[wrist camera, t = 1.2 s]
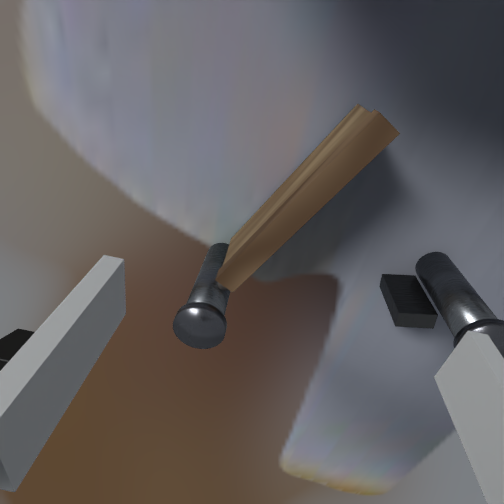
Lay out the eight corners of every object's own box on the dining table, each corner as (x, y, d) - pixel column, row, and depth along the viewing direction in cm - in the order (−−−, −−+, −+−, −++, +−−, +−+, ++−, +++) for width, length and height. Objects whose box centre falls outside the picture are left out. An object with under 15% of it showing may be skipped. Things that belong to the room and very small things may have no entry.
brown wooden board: (225, 242, 34) (211, 284, 28) (358, 99, 26) (380, 112, 20) (239, 252, 34) (228, 296, 28) (374, 115, 27) (399, 133, 21)
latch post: (388, 246, 33) (428, 322, 23) (460, 249, 32) (530, 328, 23) (379, 286, 35) (412, 369, 26) (446, 289, 34) (504, 376, 25)
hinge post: (202, 238, 34) (169, 307, 25) (241, 240, 34) (223, 310, 24) (205, 271, 36) (176, 346, 27) (242, 273, 36) (226, 350, 26)
